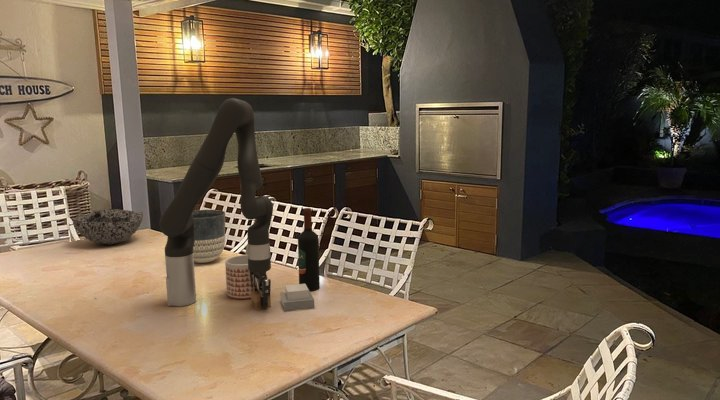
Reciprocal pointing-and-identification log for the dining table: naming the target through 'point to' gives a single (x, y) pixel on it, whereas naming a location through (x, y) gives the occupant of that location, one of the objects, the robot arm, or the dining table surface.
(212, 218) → the planter
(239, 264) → the vase
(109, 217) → the bowl
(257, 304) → the walnut block
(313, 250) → the wine bottle
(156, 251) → the dining table surface
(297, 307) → the plinth
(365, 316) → the dining table surface
